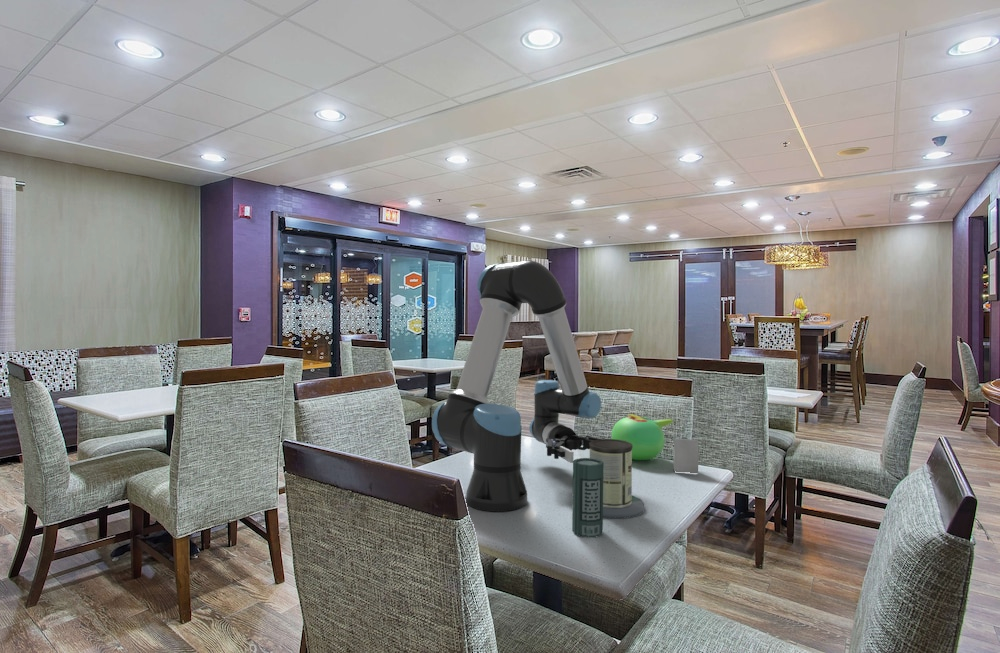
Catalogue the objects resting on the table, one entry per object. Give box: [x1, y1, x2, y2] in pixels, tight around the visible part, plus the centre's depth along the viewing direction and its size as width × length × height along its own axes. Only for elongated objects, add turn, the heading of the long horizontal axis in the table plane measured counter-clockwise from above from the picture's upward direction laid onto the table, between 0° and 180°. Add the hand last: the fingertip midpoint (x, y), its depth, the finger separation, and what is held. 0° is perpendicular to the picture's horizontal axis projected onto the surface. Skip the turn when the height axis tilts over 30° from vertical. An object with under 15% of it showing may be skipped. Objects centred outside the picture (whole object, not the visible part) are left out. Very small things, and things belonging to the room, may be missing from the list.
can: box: [571, 457, 604, 539], centre depth 114 cm, size 6×6×15 cm
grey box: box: [672, 438, 699, 474], centre depth 159 cm, size 4×7×10 cm, turn 75°
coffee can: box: [589, 438, 633, 508], centre depth 130 cm, size 10×10×14 cm
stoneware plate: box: [603, 495, 645, 520], centre depth 130 cm, size 16×16×1 cm
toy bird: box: [610, 413, 674, 461], centre depth 175 cm, size 18×17×15 cm
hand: (596, 455), depth 137 cm, fingers open, 13 cm apart
